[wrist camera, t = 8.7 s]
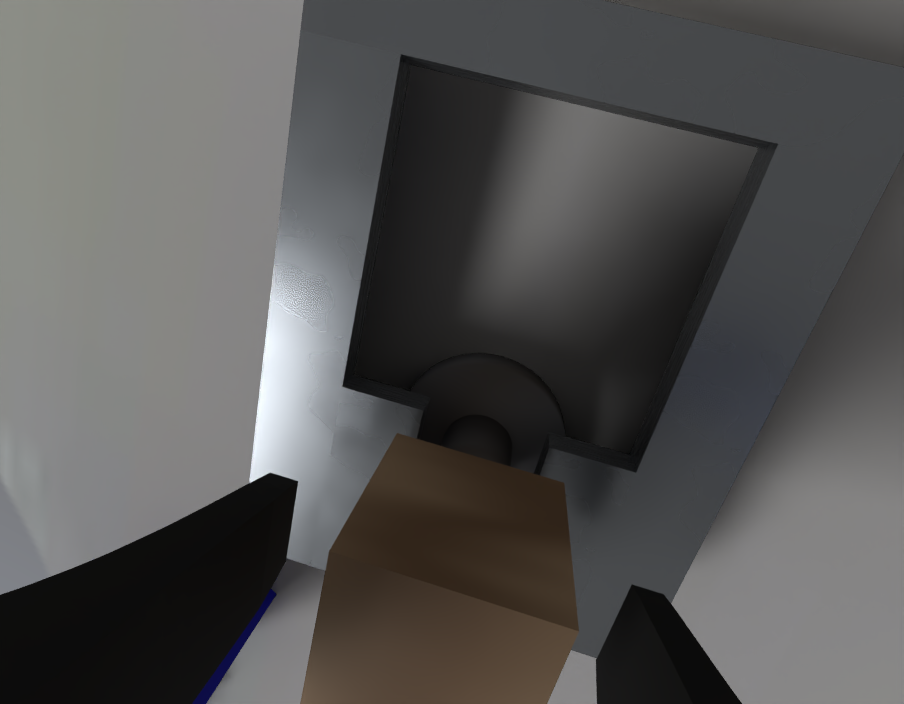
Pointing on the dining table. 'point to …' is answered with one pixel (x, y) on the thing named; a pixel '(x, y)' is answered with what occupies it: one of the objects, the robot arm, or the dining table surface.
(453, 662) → the peg
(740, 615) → the dining table surface
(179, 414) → the dining table surface
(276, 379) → the notched window frame
